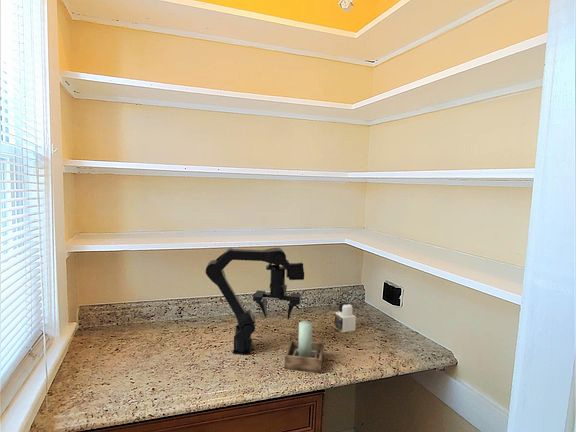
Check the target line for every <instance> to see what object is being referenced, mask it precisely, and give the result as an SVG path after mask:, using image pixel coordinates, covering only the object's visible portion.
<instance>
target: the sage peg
mask: <svg viewBox="0 0 576 432" xmlns="http://www.w3.org/2000/svg"><path fill="white" fill-rule="evenodd" d="M298 341H299V344H298V356H300V357H310V358H311V356H312V342H313V323H312V321H308V320H302V321H299V322H298Z"/></svg>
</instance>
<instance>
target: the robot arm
mask: <svg viewBox="0 0 576 432" xmlns="http://www.w3.org/2000/svg"><path fill="white" fill-rule="evenodd" d="M232 261H249V262H250V261H251V262H252V261H253V262H265V263H267V265H266V266H265V269H266V271H270V280H269V281H270V283H269V290H270V292H269V293H267V292H266V291H265V290H256V291H255V292H254V293H253V295H252V301H253V302H256V304H257V305H258V306H259V307H260V309H261V311H262V313H263V316H264V318H267V315H268V314H267V312H268V311H267V300H275V301H277V300H278V301H287V302H288V301H289V302H288V309H287V320H290V317H291V314H292V311H293V308H295V307H297V305H298V306H299V305H300V304H301V302H302V294H301V293H294V292H291V294H290V295H286V294H287V287H288V285H287V284H286V278H288V279H289V281H303V280H305V270H304V263H303V262H295V263H294V262H289V259H287V256H286V253H285V251H284V250H283V249H282V248H281V247H272V248H267V249H244V248H243V249H241V248H239V249H237V248H231V247H230V248H228V249H226V251H225V252H223V253H222V254H221V255H219V256H218V257H217V258H216V259H211V261H209V262H208V264H207V265H206V267H205V275H206V276H207V278H209V279H210V281H211V282H212V283H214V284H215V285H216V287H218V289H219V291H220V292H221V294H222V296H223V297H224V298H225V301H226V302H227V304H228V305H229V306H230V309H231V310H232V312H233V313H234V316H235V318H236V321H237V324H236V326H235V331H234V336H233V350H232V354H236V355H245V356H248V355H249V354H250V352H251V351H252V350H253V338H252V334H253V333H254V332H255V331H256V317H255V315H254V314H253V313H252V309H248V310H246V309H245V308H244V306H243V304H242V303H241V301H240V299H239V298H238V296H237V295H236V293H235V291H234V290H233V287H232V286H231V285H230V283H229V281H228V279H227V276H226V273H225V270H224V269H225V268H226V266H227V265H229V264H230V263H231V262H232Z"/></svg>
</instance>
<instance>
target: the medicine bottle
mask: <svg viewBox="0 0 576 432" xmlns="http://www.w3.org/2000/svg"><path fill="white" fill-rule="evenodd" d="M356 319H357V317H356V315H355V314H353V305H352V304H351V303H350V302H340V303H339V305H338V311H335V313H334V328H336V329H337V330H338V331H339V333H342V334H343V333H349V332H355V331H356V321H357V320H356Z"/></svg>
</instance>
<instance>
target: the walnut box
mask: <svg viewBox="0 0 576 432" xmlns="http://www.w3.org/2000/svg"><path fill="white" fill-rule="evenodd" d="M298 344H299V340H295V339H291V340H290V341H289V343H288V346H287V350H286V352H285V354H284V370H288V371H289V370H290V371H297V372H307V373H315V374H316V373H317V374H321V373H322V368H323V367H322V366H323V361H324V360H323V359H324V352H325V351H324V348H325V347H324V346H325V343H324V342H316V341H312V356H311V358H310V357H300V356H298Z"/></svg>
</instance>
